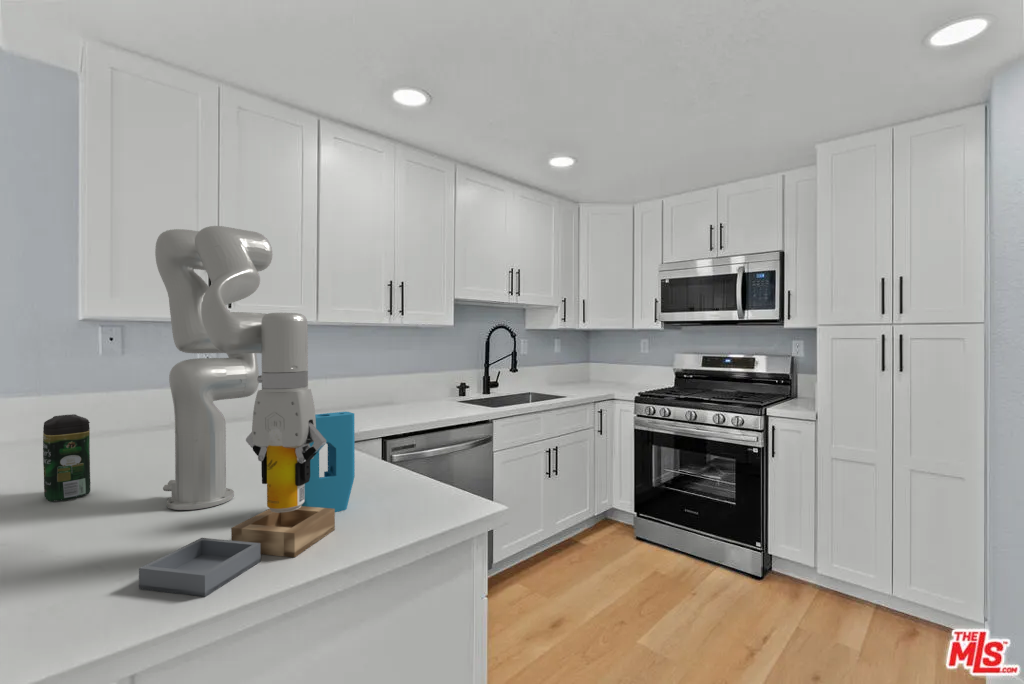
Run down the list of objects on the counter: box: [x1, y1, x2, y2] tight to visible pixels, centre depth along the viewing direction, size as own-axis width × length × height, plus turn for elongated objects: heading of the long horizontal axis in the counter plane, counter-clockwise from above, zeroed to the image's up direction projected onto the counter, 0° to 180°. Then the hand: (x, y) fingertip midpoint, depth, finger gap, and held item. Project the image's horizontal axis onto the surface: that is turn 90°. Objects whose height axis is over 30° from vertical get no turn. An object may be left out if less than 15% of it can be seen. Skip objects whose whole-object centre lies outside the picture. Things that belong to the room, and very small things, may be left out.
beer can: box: [266, 428, 305, 513], centre depth 88 cm, size 6×6×15 cm
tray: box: [138, 537, 262, 598], centre depth 75 cm, size 11×11×3 cm
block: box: [301, 411, 356, 513], centre depth 103 cm, size 12×5×20 cm, turn 130°
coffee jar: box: [42, 413, 91, 502], centre depth 113 cm, size 10×8×19 cm
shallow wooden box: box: [230, 506, 336, 558], centre depth 88 cm, size 12×12×4 cm
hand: (286, 481), depth 88 cm, fingers closed on beer can, 6 cm apart
